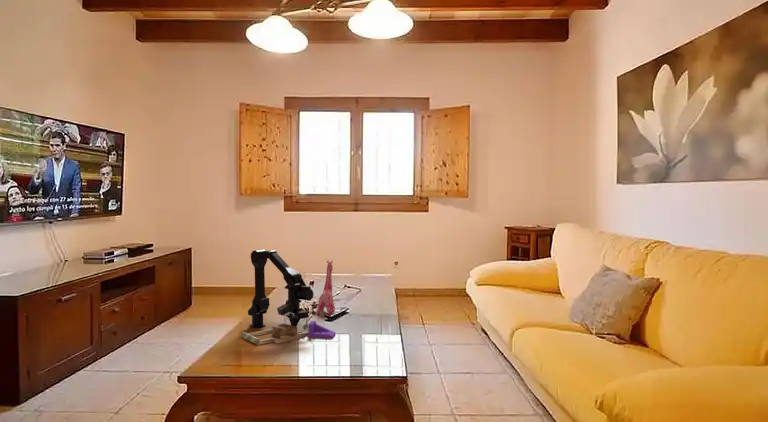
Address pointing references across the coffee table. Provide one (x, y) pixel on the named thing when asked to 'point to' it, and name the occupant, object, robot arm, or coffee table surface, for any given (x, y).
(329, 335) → the bracket
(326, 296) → the toy
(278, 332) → the block
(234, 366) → the coffee table surface
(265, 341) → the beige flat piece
